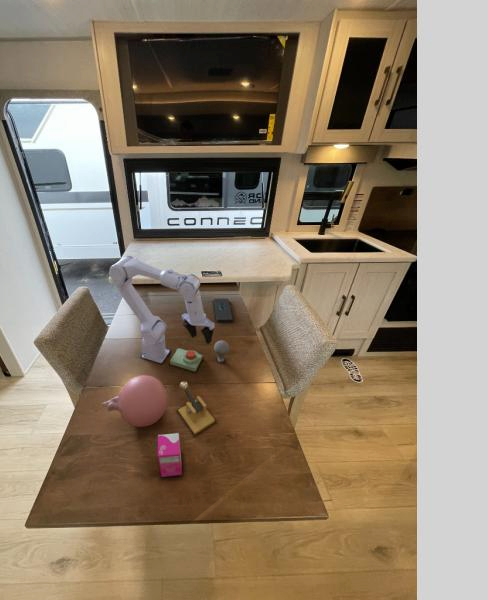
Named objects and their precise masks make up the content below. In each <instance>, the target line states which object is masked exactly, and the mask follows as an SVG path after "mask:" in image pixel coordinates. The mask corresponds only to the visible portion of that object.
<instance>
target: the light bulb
mask: <svg viewBox="0 0 488 600" xmlns="http://www.w3.org/2000/svg"><path fill="white" fill-rule="evenodd" d="M213 349H214V353H215V354H216V356H217V361H218V362H219V363H223V362H225V357H226V355H227V354H228V353H229V352H230V345H229V343H228V342H227V341H225V340H217V341H216V342H215V344H214V347H213Z"/></svg>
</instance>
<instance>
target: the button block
mask: <svg viewBox="0 0 488 600" xmlns="http://www.w3.org/2000/svg"><path fill="white" fill-rule="evenodd" d="M191 350H192V349H191ZM188 351H190V350H185V349H183V348H179V347H178V348H177V349H176V351H175V353H174V354H172V355H173V356H172V357H171V358H170V360H169V365H172V366H176V367H178V368H181V369H185V370H187V371H191V372H196V371H197V369H198V367H199V365H200V363H201V361H202V360H203V354H200V353H198V352H197V351H196V350H194V349H193V350H192V351H194V352H195V358H194V359H192V360H189V359H187V357H186V353H187V352H188Z"/></svg>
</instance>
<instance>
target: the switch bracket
mask: <svg viewBox="0 0 488 600" xmlns="http://www.w3.org/2000/svg"><path fill="white" fill-rule="evenodd" d="M194 400H195V402H197V401H198V402H199V404H200V406H201V408H202V410H201V411H200V412H198V413H196V410H195V409H194V408H193V406H192V403H191V402H190V401H187V402H186V403H185V405H184V406H182V407H180V408H179V409H177V411H178V413H179V415H180V417H182V419H183V420H184V422H185V423H186V425H187V426H188V428H189V429H190V431H191V432H192V433H193V435H194V436H195V435H197V434H199V433H200V432H202V431H203V430H205V429H206V428H208V427H209V426H211V425H212V424H214V423H215V422H216V420H215V418H214V417H213V416H212V415H211V413H210V412H209V411H208V408H207V403H205V401H204V400H203V398H201V396H200V395H197V396H196V398H195V399H194Z"/></svg>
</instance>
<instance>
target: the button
mask: <svg viewBox="0 0 488 600" xmlns="http://www.w3.org/2000/svg"><path fill="white" fill-rule="evenodd" d="M187 351H188V352H187V353H186V357H187V359H189V360H192V359H194V358H195V352H194V351H195V350H193V351H192V349H191V350H190V351H189V350H187Z"/></svg>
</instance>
